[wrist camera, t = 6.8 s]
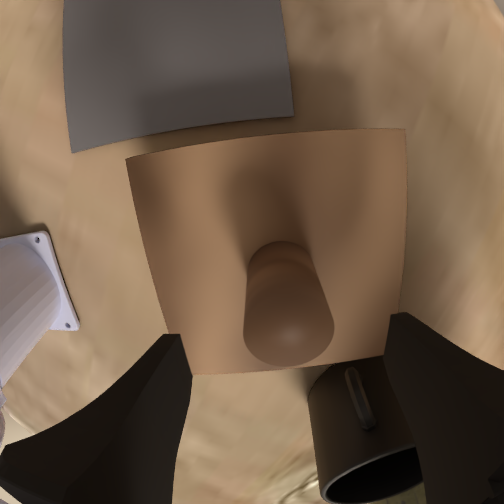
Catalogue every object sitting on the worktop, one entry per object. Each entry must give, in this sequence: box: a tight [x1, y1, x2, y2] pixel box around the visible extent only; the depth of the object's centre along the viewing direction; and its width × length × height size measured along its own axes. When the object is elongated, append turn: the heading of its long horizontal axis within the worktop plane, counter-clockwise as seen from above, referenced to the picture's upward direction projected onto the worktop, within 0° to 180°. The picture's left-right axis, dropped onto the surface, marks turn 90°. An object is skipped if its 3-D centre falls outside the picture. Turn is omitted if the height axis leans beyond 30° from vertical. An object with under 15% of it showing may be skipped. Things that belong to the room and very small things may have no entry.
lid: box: [125, 129, 407, 375], centre depth 12 cm, size 12×12×5 cm
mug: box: [308, 355, 423, 504], centre depth 18 cm, size 9×12×9 cm
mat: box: [63, 0, 294, 153], centre depth 13 cm, size 13×13×1 cm
